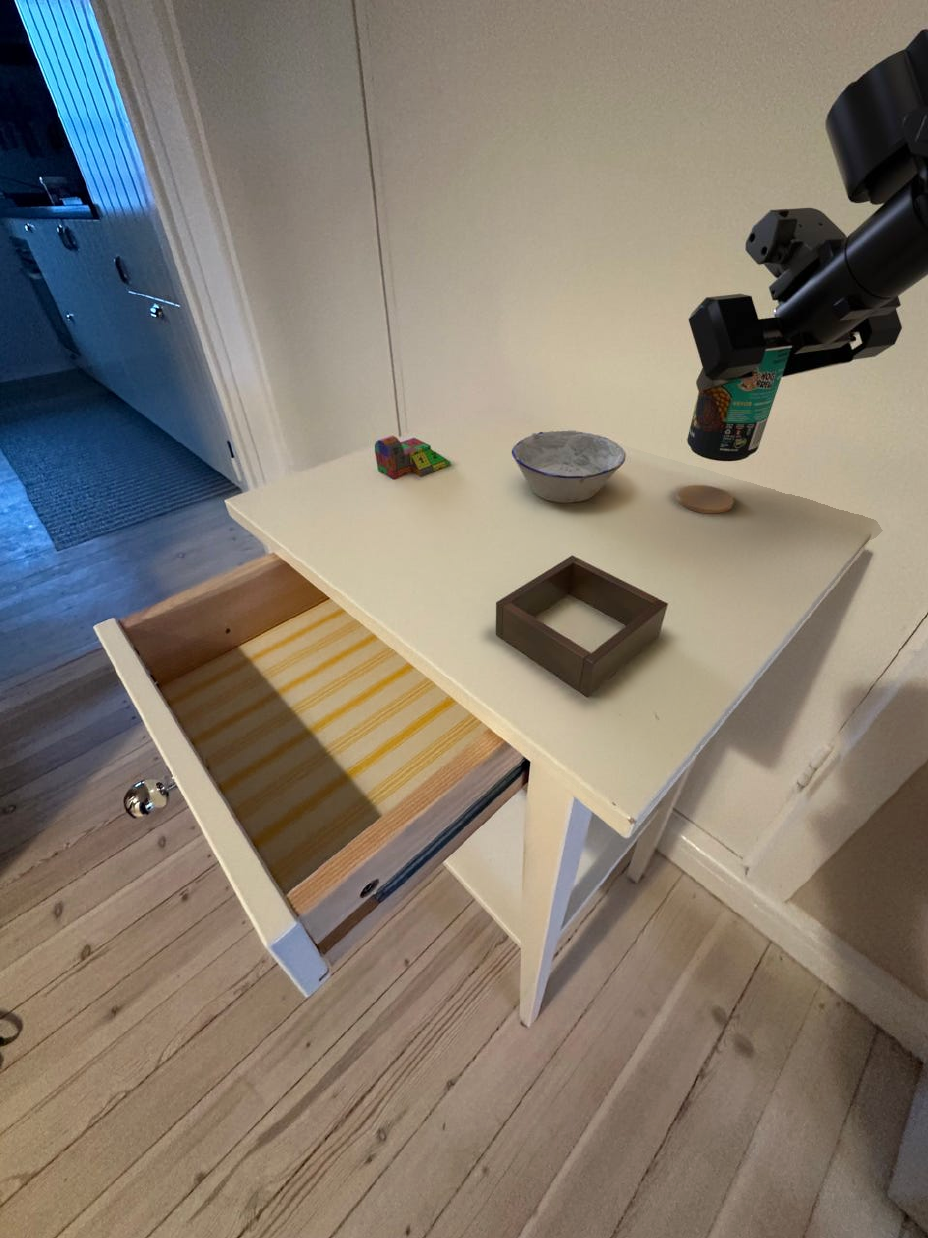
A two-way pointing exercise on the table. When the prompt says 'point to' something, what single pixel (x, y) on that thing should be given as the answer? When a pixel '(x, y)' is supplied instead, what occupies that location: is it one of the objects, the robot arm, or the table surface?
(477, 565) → the table surface
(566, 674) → the tray
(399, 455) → the numbered block arch
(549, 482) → the bowl
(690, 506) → the coaster
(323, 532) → the table surface
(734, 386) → the beverage can
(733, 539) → the table surface
